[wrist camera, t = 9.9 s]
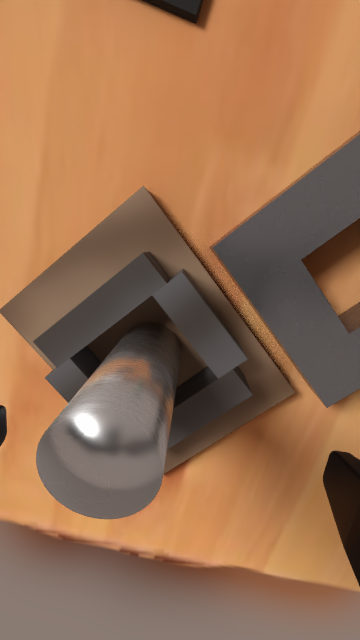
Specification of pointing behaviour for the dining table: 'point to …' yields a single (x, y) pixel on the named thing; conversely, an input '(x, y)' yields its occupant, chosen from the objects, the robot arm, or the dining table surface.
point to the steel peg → (115, 429)
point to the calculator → (180, 7)
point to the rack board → (149, 306)
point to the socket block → (302, 271)
